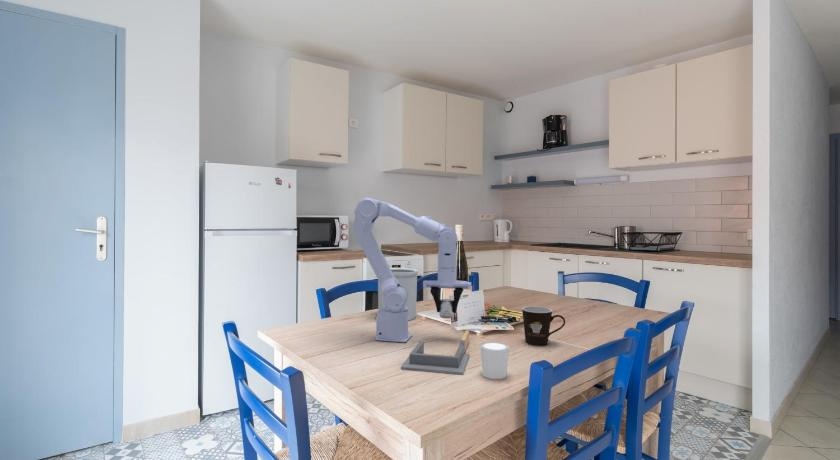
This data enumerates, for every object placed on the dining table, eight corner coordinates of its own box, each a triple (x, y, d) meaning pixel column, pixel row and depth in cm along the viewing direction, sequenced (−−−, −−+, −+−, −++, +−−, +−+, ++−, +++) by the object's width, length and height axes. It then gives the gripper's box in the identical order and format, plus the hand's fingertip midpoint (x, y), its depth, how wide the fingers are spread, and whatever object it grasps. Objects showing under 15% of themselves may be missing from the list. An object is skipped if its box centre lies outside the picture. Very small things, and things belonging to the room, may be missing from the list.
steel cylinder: (438, 317, 131) (438, 301, 131) (440, 314, 135) (441, 298, 135) (452, 318, 130) (453, 302, 130) (454, 315, 134) (455, 299, 134)
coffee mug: (516, 342, 130) (516, 309, 129) (530, 336, 136) (531, 305, 136) (552, 351, 122) (553, 316, 121) (566, 344, 128) (567, 311, 128)
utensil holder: (394, 310, 171) (394, 266, 170) (425, 316, 162) (425, 269, 162) (368, 318, 159) (368, 270, 158) (401, 324, 150) (401, 273, 150)
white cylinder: (491, 382, 100) (491, 352, 99) (474, 372, 106) (474, 343, 106) (515, 377, 103) (515, 347, 103) (497, 367, 109) (497, 340, 109)
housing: (400, 369, 108) (400, 357, 108) (414, 351, 121) (414, 340, 121) (462, 374, 104) (463, 362, 104) (469, 356, 118) (469, 345, 118)
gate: (464, 354, 118) (464, 341, 118) (459, 354, 119) (460, 340, 119) (469, 341, 130) (469, 329, 130) (465, 341, 131) (465, 329, 130)
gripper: (420, 268, 130) (420, 313, 130) (469, 270, 127) (469, 316, 127) (425, 265, 137) (425, 308, 137) (472, 267, 134) (471, 310, 134)
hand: (446, 311), depth 133 cm, fingers closed on steel cylinder, 4 cm apart
